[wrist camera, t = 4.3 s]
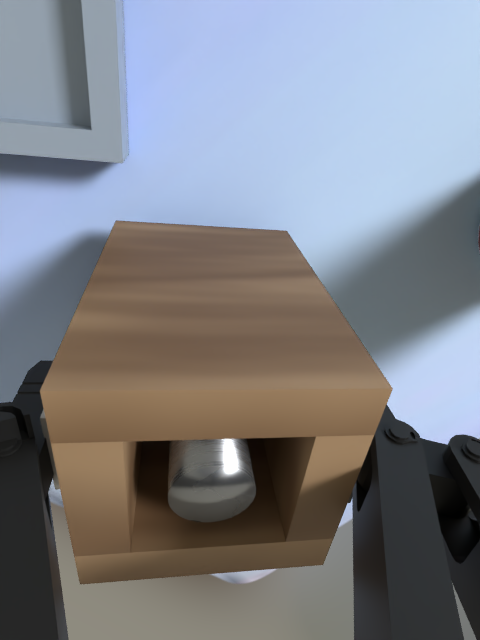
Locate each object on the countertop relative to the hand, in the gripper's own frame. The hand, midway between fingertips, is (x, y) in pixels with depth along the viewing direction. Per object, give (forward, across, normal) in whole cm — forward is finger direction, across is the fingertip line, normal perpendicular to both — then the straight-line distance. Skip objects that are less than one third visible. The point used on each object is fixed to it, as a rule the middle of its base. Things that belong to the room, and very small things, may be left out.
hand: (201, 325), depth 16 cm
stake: (+4, 0, 0) cm, 4 cm away
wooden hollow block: (+2, 0, 0) cm, 2 cm away
